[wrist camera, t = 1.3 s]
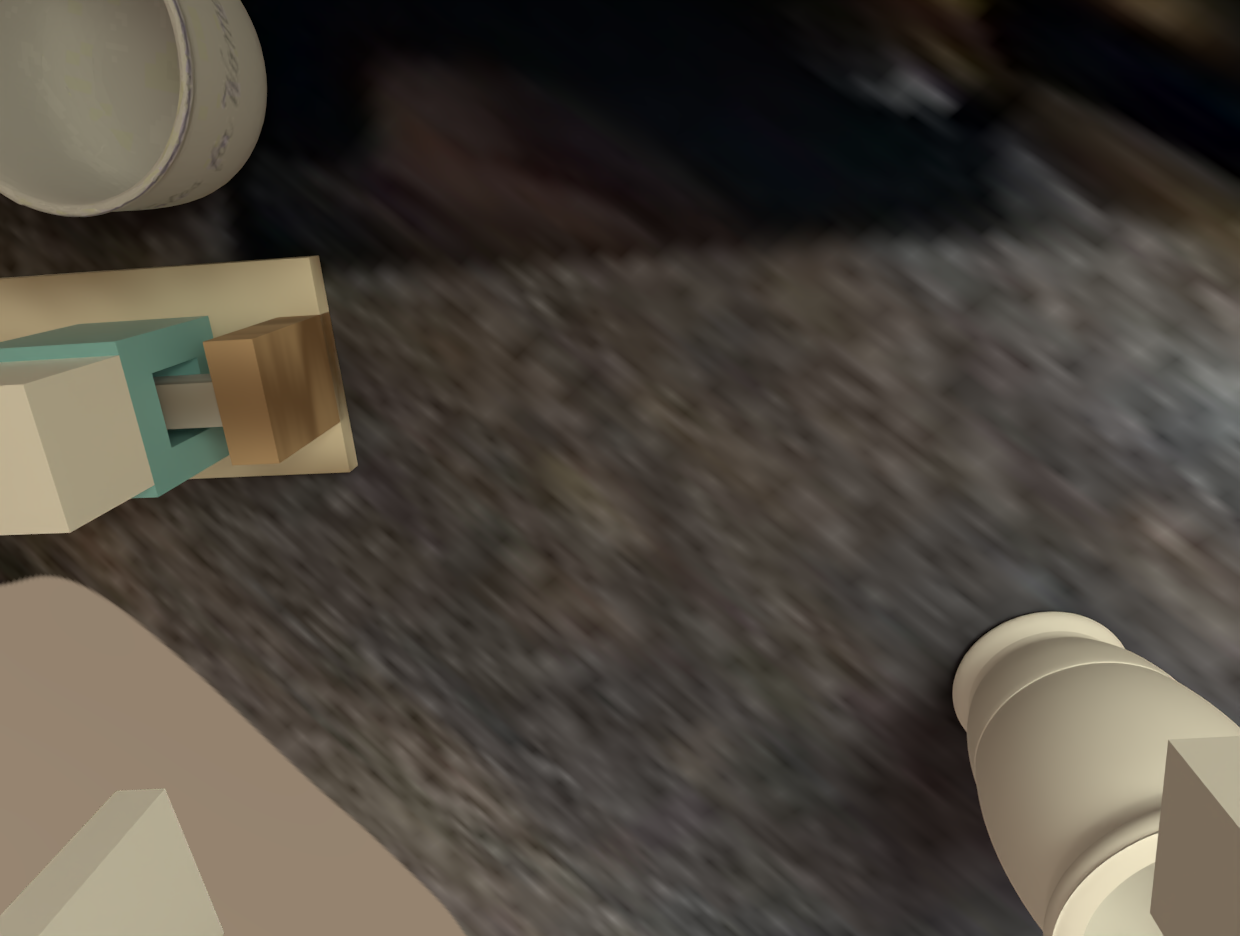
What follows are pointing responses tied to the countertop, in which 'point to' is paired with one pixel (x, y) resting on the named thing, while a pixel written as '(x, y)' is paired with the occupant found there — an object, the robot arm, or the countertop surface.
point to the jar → (1074, 766)
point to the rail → (222, 353)
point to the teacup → (125, 102)
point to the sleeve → (95, 420)
